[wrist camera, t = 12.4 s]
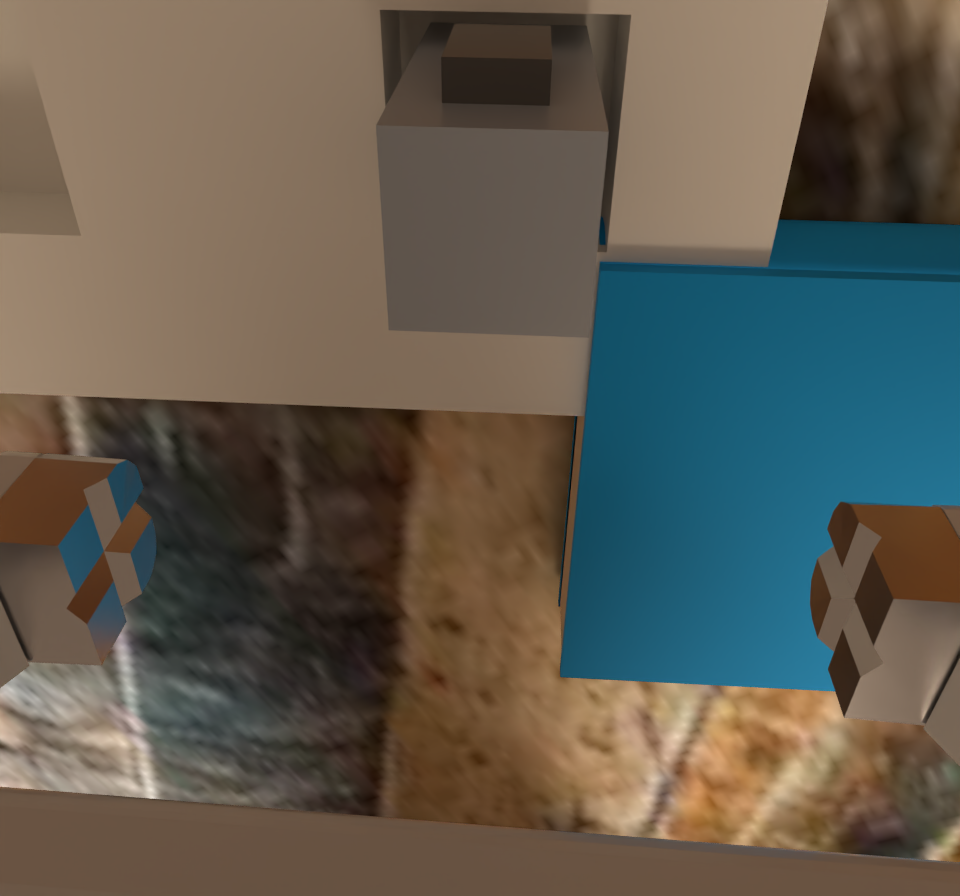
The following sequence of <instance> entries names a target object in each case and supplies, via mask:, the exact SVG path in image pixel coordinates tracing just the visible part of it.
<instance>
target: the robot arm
mask: <svg viewBox="0 0 960 896" xmlns="http://www.w3.org/2000/svg"><path fill="white" fill-rule="evenodd" d="M143 489H144V488H143V485H142V481H141V478H140V475H139V472H138V469H137V466H136V465H134V464H133V463H131V462H130V461H128V460H124V459H111V458H99V457H86V456H74V455H61V454H49V453H47V454H41V453H30V452H15V451H5V452H2V453H0V688H1V687H2V686H3V685H5V684H6V683H7V682H9V681H10V680H11V679H13V678H14V677H15V676H16V675H18V674H19V673H20V672H22V671H23V670H24V669H26V668H27V667H28V666H29V664H28V662H38V663H61V664H85V665H102V664H103V662H104V660H105V659H106V657H107V655H108V653H109V651H110V650H111V648H112V646H113V644H114V643H115V641H116V639H117V637H118V636H119V634H120V632H121V630H122V628H123V627H124V625H125V623H126V619H125V615H124V612H123V609H122V606H123V605H125V604H126V603H128V602H129V601H131V600H132V599H134V598H136V597H137V596H139V595H140V594H142V592H143V591H144V589H145V587H146V585H147V583H148V581H149V579H150V577H151V575H152V571H153V566H154V562H155V557H156V552H157V550H156V532H155V529H154V525H153V521H152V517H151V516H150V515H148V514H147V513H146V512H145V511H144V510H143V509H142V508H141V507H140V506H139V505H138V504H137V503H136V502H135V501H136V500H137V498H138V497H139V495H140V493H141V492H142V490H143ZM827 530H828V532H829V535H830V538H831V540H832V543H833V545H834V546H833V547H832V548H830V549H829V550H828V551H826V552H825V553H824V554H822V555H821V556H820V557H818V558H817V561H816V565H815V568H814V572H813V575H812V579H811V590H810V608H811V615H812V621H813V625H814V628H815V631H816V634H817V638H818V639H819V640H821V641H822V642H823V643H824V644H825V645H826V646H828V647H829V648H830V649H831V650H832V651H833V652H834V653H833V656H832V659H831V662H830V664H829V667H828V671H829V674H830V677H831V680H832V683H833V686H834V689H835V692H836V695H837V698H838V701H839V704H840V707H841V710H842V713H843V716H844V718H853V719H863V720H873V721H884V722H894V723H904V724H915V725H925V727H924V730H925V731H926V732H927V733H928V734H929V735H930V736H931V737H932V738H933V739H934V740H935V741H936V742H937V743H938V744H939V745H940V746H941V747H942V748H943V749H944V751H945V752H946V753H947V754H948V755H949V756H950V757H951V758H952V759H953V760H954V761H955V762H956V763H957V764H958V765H959V766H960V506H954V505H932V506H918V505H899V504H880V503H862V502H843V501H841V502H840V503H839V504H838V506H837V507H836V508H835V510H834V511H833V513H832V516H831V519H830V522H829V525H828V528H827ZM0 896H960V862H947V861H934V860H922V859H909V858H897V857H884V856H871V855H859V854H846V853H834V852H821V851H808V850H795V849H783V848H770V847H757V846H744V845H731V844H719V843H706V842H693V841H680V840H668V839H655V838H642V837H629V836H617V835H604V834H591V833H578V832H565V831H553V830H540V829H527V828H515V827H502V826H489V825H477V824H464V823H452V822H439V821H426V820H414V819H401V818H388V817H376V816H363V815H351V814H338V813H325V812H313V811H300V810H287V809H275V808H262V807H250V806H237V805H224V804H212V803H199V802H186V801H174V800H161V799H148V798H135V797H123V796H110V795H97V794H85V793H72V792H59V791H47V790H34V789H21V788H9V787H0Z"/></svg>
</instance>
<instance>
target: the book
mask: <svg viewBox="0 0 960 896" xmlns="http://www.w3.org/2000/svg"><path fill="white" fill-rule="evenodd" d="M599 242H600V245H606V241H605V226H604V220H603V217H602V216H601V218H600V228H599ZM841 501H843V502H862V503H880V504H899V505H918V506H932V505H954V506H960V225H948V224H914V223H880V222H846V221H812V220H778V224H777V229H776V233H775V238H774V242H773V246H772V251H771V255H770V260H769V264H768V267H753V266H722V265H692V264H662V263H631V262H601V261H600V266H599V276H598V286H597V296H596V306H595V317H594V327H593V337H592V347H591V357H590V367H589V378H588V388H587V398H586V408H585V416H575V421H574V432H573V443H572V454H571V465H570V476H569V487H568V499H567V510H566V521H565V532H564V543H563V554H562V565H561V576H560V588H559V599H558V603H559V606H560V607H561V645H562V652H561V663H560V677H567V678H587V679H606V680H626V681H645V682H664V683H684V684H703V685H722V686H742V687H761V688H781V689H800V690H819V691H835V689H834V686H833V683H832V680H831V677H830V674H829V671H828V667H829V664H830V662H831V659H832V656H833V653H834V652H833V651H832V650H831V649H830V648H829V647H828V646H826V645H825V644H824V643H823V642H822V641H821V640H819V639H818V638H817V634H816V631H815V628H814V625H813V621H812V615H811V608H810V590H811V579H812V575H813V572H814V568H815V565H816V561H817V558H818V557H820V556H821V555H822V554H824V553H825V552H826V551H828V550H829V549H830V548H832V547H833V546H834V545H833V543H832V540H831V538H830V535H829V532H828V530H827V528H828V525H829V522H830V519H831V516H832V513H833V511H834V510H835V508H836V507H837V506H838V504H839V503H840V502H841Z"/></svg>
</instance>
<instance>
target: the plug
mask: <svg viewBox="0 0 960 896" xmlns="http://www.w3.org/2000/svg"><path fill="white" fill-rule="evenodd" d="M376 135H377V151H378V167H379V182H380V198H381V214H382V230H383V246H384V262H385V278H386V294H387V310H388V326H389V330H395V331H422V332H449V333H476V334H503V335H530V336H557V337H584V338H589V330H590V320H591V310H592V299H593V289H594V279H595V269H596V259H597V248H598V238H599V228H600V218H601V208H602V197H603V187H604V177H605V167H606V157H607V146H608V136H609V130H608V125H607V120H606V115H605V110H604V106H603V101H602V96H601V91H600V87H599V82H598V77H597V72H596V67H595V63H594V58H593V53H592V48H591V44H590V39H589V34H588V29H587V26H580V25H534V24H489V23H443V22H431V23H430V24H429V26H428V28H427V30H426V32H425V34H424V36H423V38H422V40H421V41H420V43H419V45H418V47H417V49H416V51H415V53H414V55H413V56H412V58H411V60H410V62H409V64H408V66H407V68H406V70H405V72H404V73H403V75H402V77H401V79H400V81H399V83H398V85H397V87H396V89H395V90H394V92H393V94H392V96H391V98H390V100H389V102H388V104H387V105H386V107H385V109H384V111H383V113H382V115H381V117H380V119H379V121H378V122H377V124H376Z"/></svg>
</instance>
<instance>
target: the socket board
mask: <svg viewBox="0 0 960 896" xmlns="http://www.w3.org/2000/svg"><path fill="white" fill-rule="evenodd" d="M827 5H828V0H0V393H9V394H34V395H59V396H85V397H110V398H135V399H160V400H186V401H211V402H236V403H261V404H286V405H312V406H337V407H362V408H387V409H413V410H438V411H463V412H488V413H514V414H539V415H564V416H585V408H586V398H587V388H588V378H589V367H590V357H591V347H592V337H593V327H594V317H595V306H596V296H597V286H598V276H599V266H600V261H601V262H631V263H662V264H692V265H722V266H753V267H768V264H769V260H770V255H771V251H772V246H773V242H774V238H775V233H776V229H777V224H778V220H779V216H780V211H781V207H782V202H783V198H784V194H785V189H786V185H787V180H788V176H789V172H790V167H791V163H792V158H793V154H794V150H795V145H796V141H797V136H798V132H799V128H800V123H801V119H802V114H803V110H804V106H805V101H806V97H807V93H808V88H809V84H810V79H811V75H812V71H813V66H814V62H815V57H816V53H817V49H818V44H819V40H820V35H821V31H822V27H823V22H824V18H825V13H826V9H827ZM431 22H443V23H489V24H534V25H580V26H587V29H588V34H589V39H590V44H591V48H592V53H593V58H594V63H595V67H596V72H597V77H598V82H599V87H600V91H601V96H602V101H603V106H604V110H605V115H606V120H607V125H608V130H609V136H608V146H607V157H606V167H605V177H604V187H603V197H602V208H601V216H602V217H603V220H604V226H605V241H606V245H600V242H599V238H598V248H597V259H596V269H595V279H594V289H593V299H592V310H591V320H590V330H589V338H584V337H557V336H530V335H503V334H476V333H449V332H422V331H395V330H389V326H388V310H387V294H386V278H385V262H384V246H383V230H382V214H381V198H380V182H379V167H378V151H377V135H376V124H377V122H378V121H379V119H380V117H381V115H382V113H383V111H384V109H385V107H386V105H387V104H388V102H389V100H390V98H391V96H392V94H393V92H394V90H395V89H396V87H397V85H398V83H399V81H400V79H401V77H402V75H403V73H404V72H405V70H406V68H407V66H408V64H409V62H410V60H411V58H412V56H413V55H414V53H415V51H416V49H417V47H418V45H419V43H420V41H421V40H422V38H423V36H424V34H425V32H426V30H427V28H428V26H429V24H430V23H431Z"/></svg>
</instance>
